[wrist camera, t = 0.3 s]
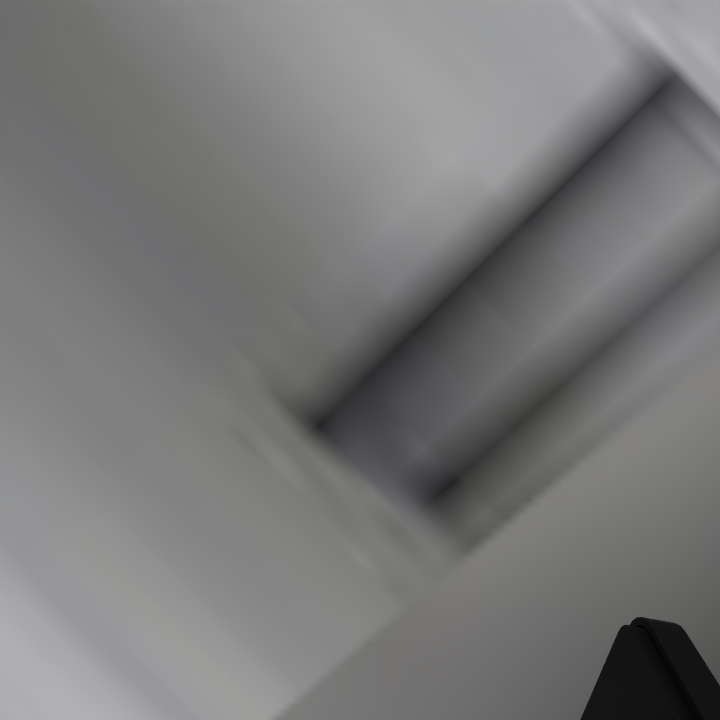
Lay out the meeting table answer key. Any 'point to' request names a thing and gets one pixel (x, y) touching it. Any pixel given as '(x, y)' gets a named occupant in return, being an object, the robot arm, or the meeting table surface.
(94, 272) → the meeting table surface
